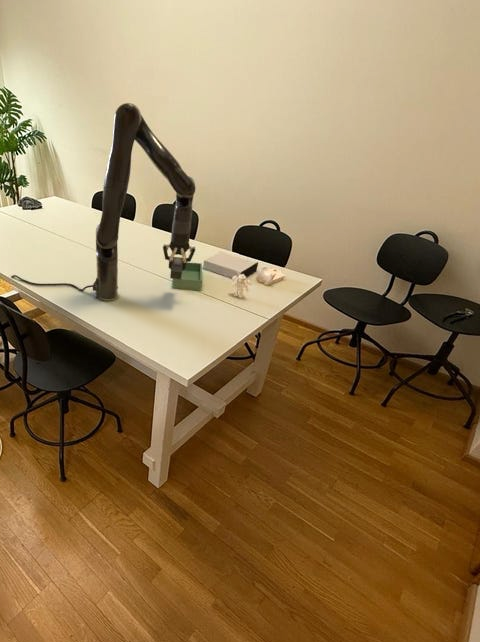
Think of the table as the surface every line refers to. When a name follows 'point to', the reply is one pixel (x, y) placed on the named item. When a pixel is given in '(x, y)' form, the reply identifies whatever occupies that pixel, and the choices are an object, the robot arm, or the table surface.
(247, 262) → the disc drive
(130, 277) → the table surface
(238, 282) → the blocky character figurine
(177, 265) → the block
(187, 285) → the bin
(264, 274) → the cream lumpy rounded piece
